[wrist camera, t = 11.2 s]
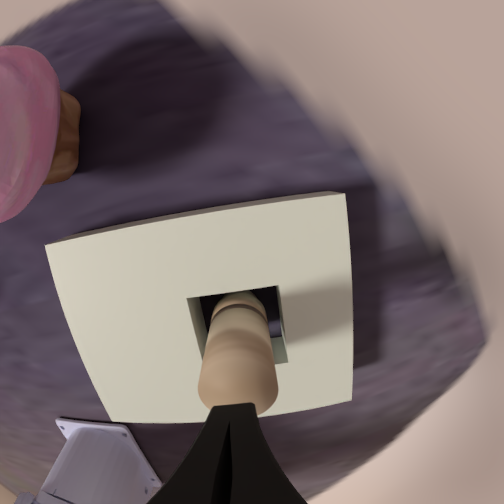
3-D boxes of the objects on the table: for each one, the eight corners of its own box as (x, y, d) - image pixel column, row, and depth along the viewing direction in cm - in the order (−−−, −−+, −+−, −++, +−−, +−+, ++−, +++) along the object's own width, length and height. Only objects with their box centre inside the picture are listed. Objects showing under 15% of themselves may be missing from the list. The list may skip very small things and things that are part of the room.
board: (339, 373, 20) (351, 400, 17) (124, 396, 20) (112, 421, 17) (328, 190, 17) (345, 193, 14) (70, 235, 17) (44, 245, 14)
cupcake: (113, 203, 17) (-4, 233, 7) (13, 215, 16) (-93, 247, 7) (113, 63, 14) (20, -9, 5) (13, 96, 14) (-86, 74, 5)
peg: (268, 325, 19) (282, 413, 11) (220, 332, 19) (208, 422, 11) (260, 279, 18) (273, 353, 10) (210, 288, 18) (188, 364, 10)
